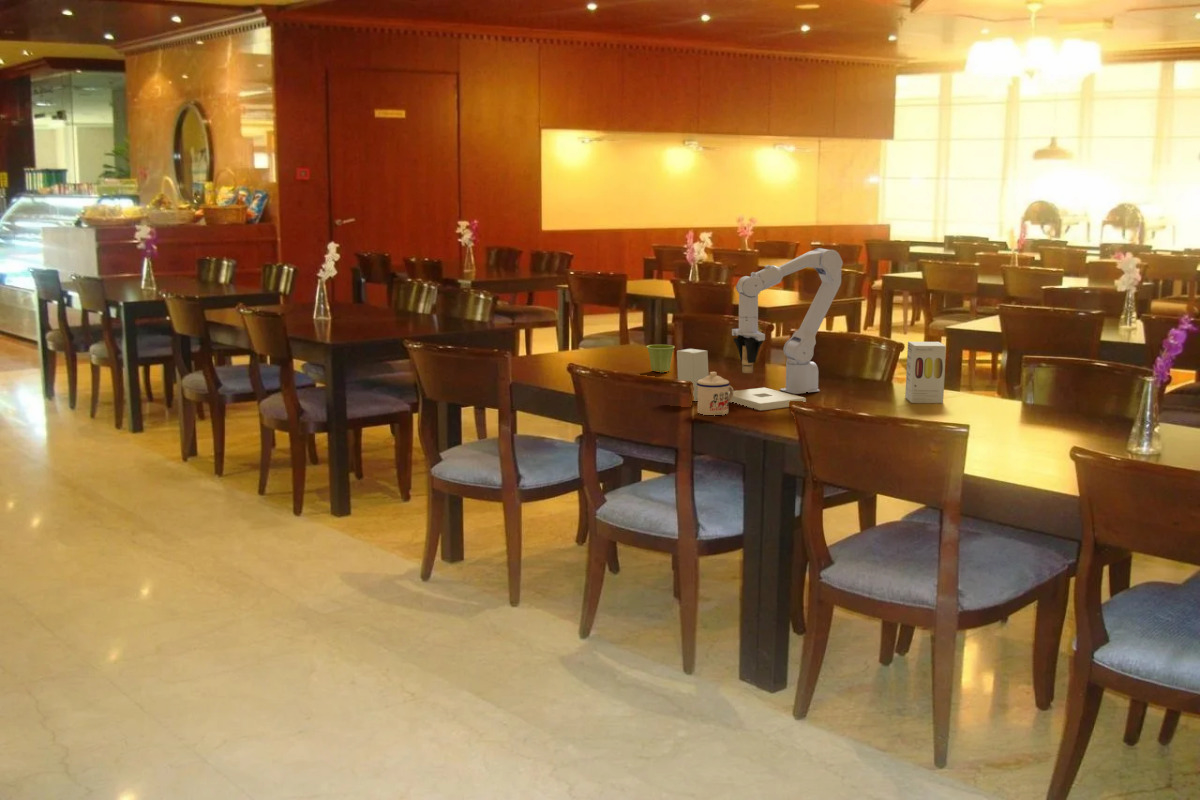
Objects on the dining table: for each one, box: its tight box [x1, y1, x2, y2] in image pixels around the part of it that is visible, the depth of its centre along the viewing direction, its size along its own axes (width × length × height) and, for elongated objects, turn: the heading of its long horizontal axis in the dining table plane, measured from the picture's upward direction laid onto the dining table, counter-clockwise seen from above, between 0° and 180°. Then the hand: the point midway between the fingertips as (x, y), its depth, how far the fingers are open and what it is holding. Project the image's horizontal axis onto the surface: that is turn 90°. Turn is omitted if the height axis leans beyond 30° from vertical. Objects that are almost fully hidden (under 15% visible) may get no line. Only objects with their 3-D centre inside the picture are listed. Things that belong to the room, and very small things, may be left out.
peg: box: [741, 345, 754, 374], centre depth 363 cm, size 3×3×8 cm
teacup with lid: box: [697, 371, 735, 417], centre depth 337 cm, size 12×9×12 cm
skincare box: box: [676, 348, 710, 401], centre depth 356 cm, size 8×6×15 cm
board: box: [729, 386, 807, 411], centre depth 352 cm, size 16×20×2 cm
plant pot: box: [646, 344, 676, 373], centre depth 406 cm, size 9×9×9 cm
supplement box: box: [904, 341, 947, 404], centre depth 350 cm, size 10×9×17 cm
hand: (747, 361), depth 363 cm, fingers closed on peg, 3 cm apart
